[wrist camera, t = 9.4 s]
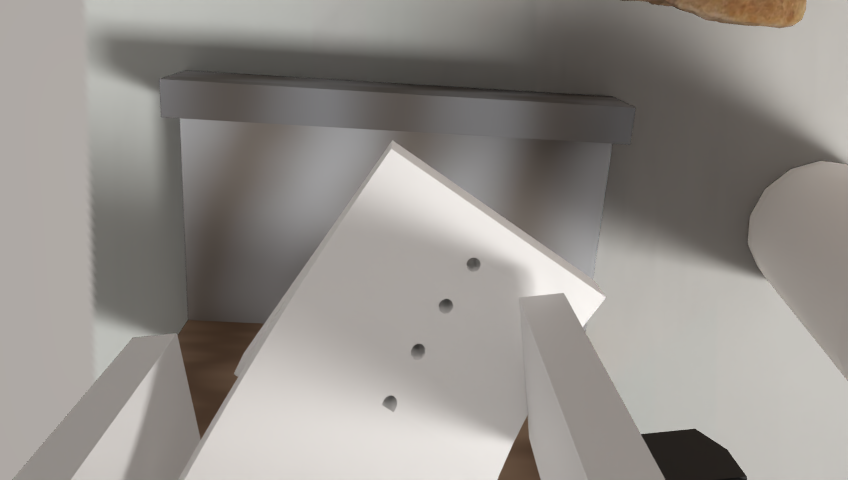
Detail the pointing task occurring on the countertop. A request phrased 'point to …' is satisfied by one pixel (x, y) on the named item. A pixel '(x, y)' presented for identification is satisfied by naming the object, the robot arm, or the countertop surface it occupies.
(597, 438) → the robot arm
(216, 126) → the board
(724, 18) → the tan suede boot
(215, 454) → the white curved saddle bracket
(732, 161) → the countertop surface
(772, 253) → the foam cup
